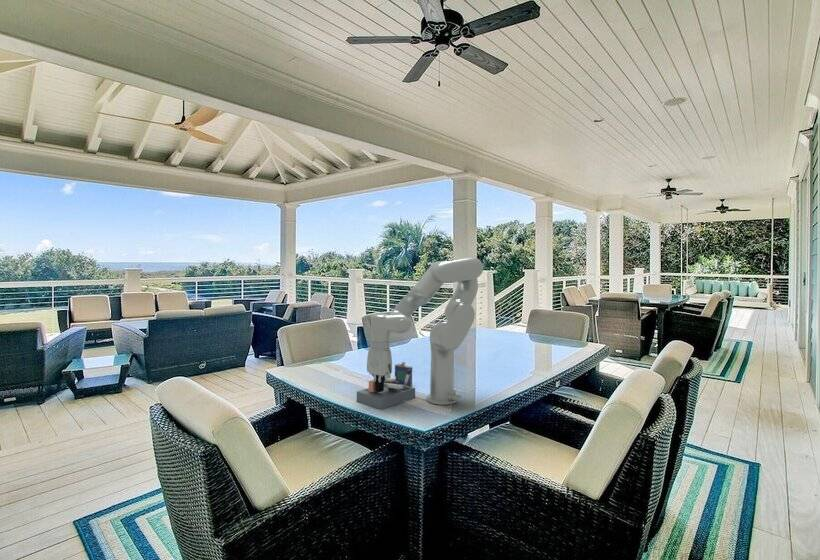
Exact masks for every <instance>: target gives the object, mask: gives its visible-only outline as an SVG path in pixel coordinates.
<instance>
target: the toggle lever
mask: <svg viewBox="0 0 820 560" xmlns="http://www.w3.org/2000/svg"><path fill="white" fill-rule="evenodd" d="M406 372H407V375H406V378H405V382H404V387H406V385H407V382H408V378H409V375H410V374H411V373H412V374H413V370H412V371H411V369H408V370H407V371H406Z"/></svg>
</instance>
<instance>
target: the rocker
mask: <svg viewBox="0 0 820 560" xmlns="http://www.w3.org/2000/svg"><path fill="white" fill-rule="evenodd" d="M384 386H386V387H390V388H402V389H403V386H401V385H397V384H389V383H384Z"/></svg>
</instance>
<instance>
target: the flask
mask: <svg viewBox="0 0 820 560" xmlns="http://www.w3.org/2000/svg"><path fill="white" fill-rule="evenodd" d="M408 369H411V371H412V373H411V374H410V375H409V378H408V382H407V385H406V386H409V387H413V366H410V365H406V362H405V361H401V362H400V363H397V364H395V365H394V376H395V377H396V381H399V384H402V385H404V382H405V378H406V375H407V372H406V371H407V370H408Z"/></svg>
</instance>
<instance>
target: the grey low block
mask: <svg viewBox="0 0 820 560" xmlns="http://www.w3.org/2000/svg"><path fill="white" fill-rule="evenodd" d="M384 383H387V382H386V381H384ZM389 384H397V385H401V386H403V389H402V388H390V387H386V386H384V391H382V392H370V391H369V387H368V388H365V389H364V388H363V389H360V390H356V402H357V403H360V404H363V405H366V406H369V407H372V408H375V409H378V410H381V411H382V410H384V409H387V408H390V407H393V406H396V405H398V404H402V403H405V402H407V401H410V400H412V399H415V398H416V387H413V386H411V387H409V386H406V387H404V385H402V384H399V381H394V382H392V383H389Z"/></svg>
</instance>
